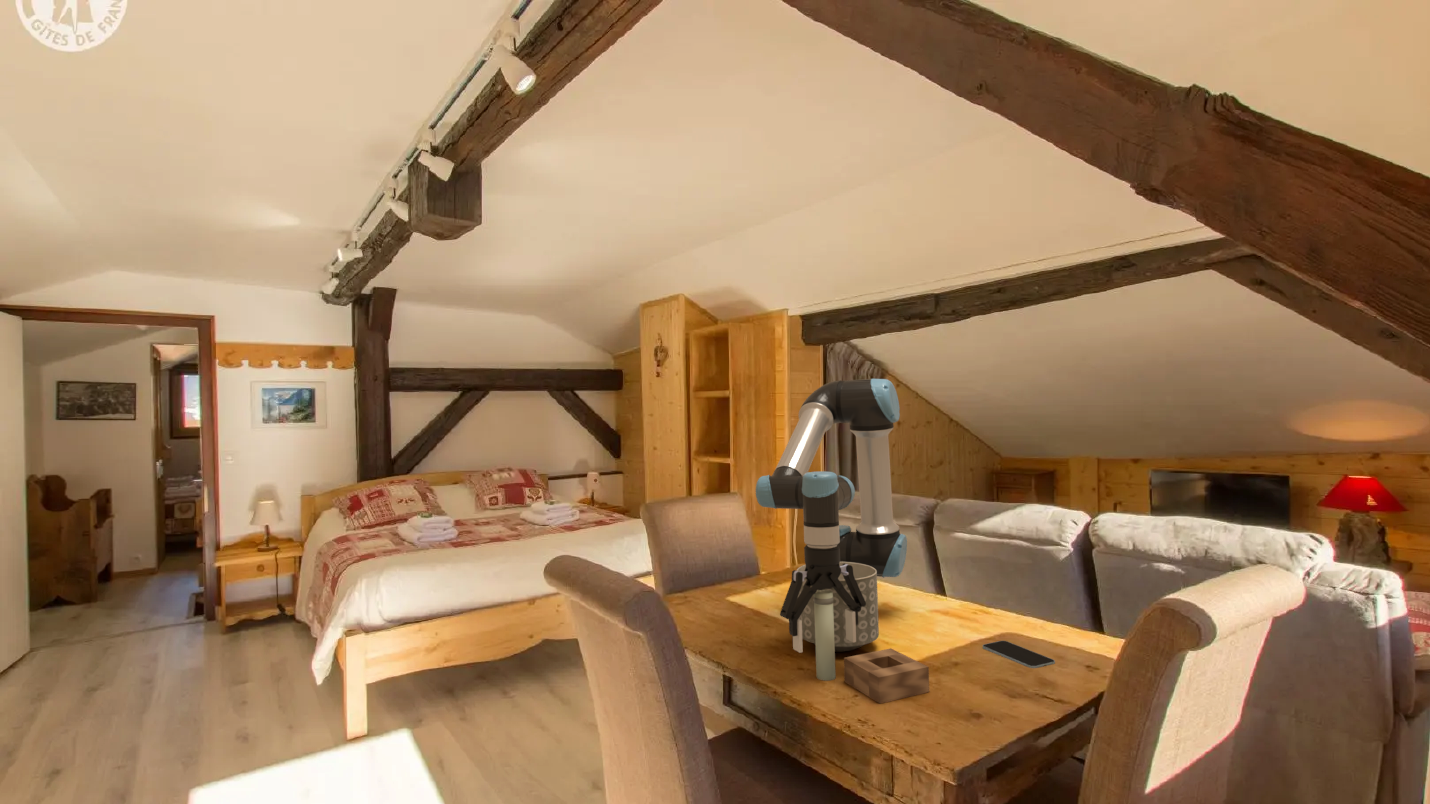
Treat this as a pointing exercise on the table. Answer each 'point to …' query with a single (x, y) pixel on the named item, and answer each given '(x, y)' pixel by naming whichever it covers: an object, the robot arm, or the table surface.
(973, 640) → the table surface
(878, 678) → the square wooden socket block
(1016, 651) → the smartphone
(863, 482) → the robot arm
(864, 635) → the planter
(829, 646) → the banded green cylinder
